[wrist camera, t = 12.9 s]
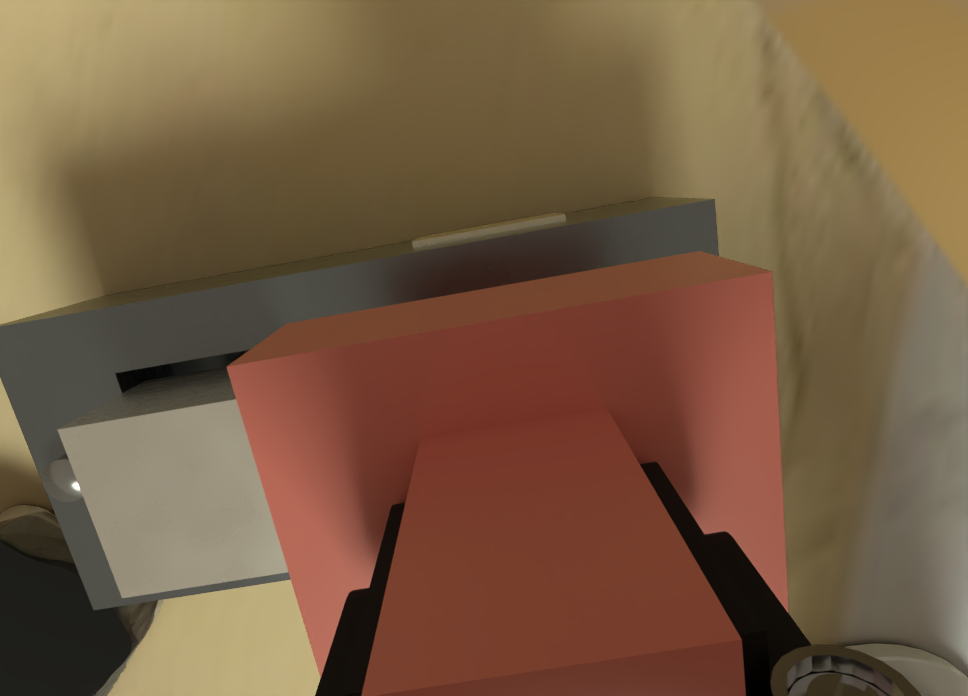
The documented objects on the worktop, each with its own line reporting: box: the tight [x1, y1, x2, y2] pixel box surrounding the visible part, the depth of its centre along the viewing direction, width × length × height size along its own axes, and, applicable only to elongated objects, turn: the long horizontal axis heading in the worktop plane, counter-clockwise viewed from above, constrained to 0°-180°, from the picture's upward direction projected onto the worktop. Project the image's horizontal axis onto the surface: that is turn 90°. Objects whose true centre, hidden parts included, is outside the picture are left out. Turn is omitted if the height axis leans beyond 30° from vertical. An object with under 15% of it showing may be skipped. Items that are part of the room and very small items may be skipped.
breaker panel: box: [0, 197, 719, 610], centre depth 20 cm, size 10×22×10 cm, turn 100°
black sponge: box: [0, 505, 162, 696], centre depth 27 cm, size 16×8×4 cm, turn 145°
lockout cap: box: [227, 251, 789, 696], centre depth 9 cm, size 8×8×8 cm
